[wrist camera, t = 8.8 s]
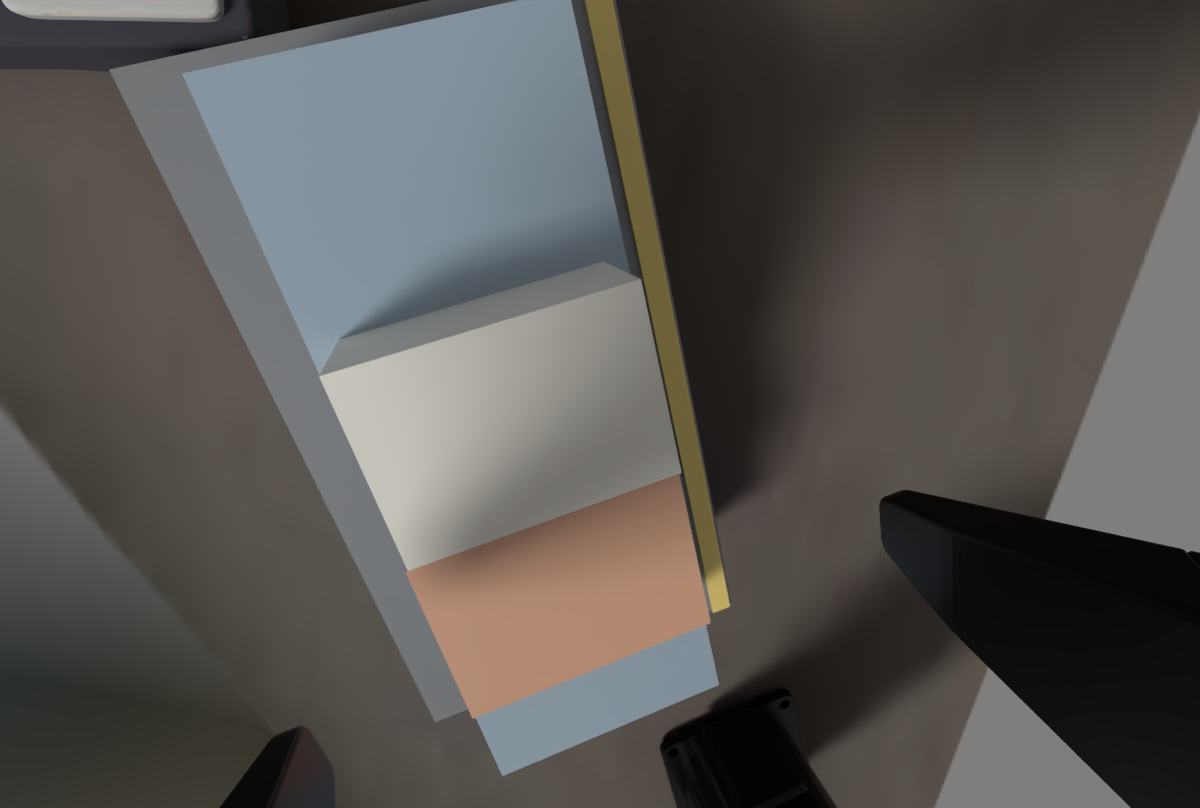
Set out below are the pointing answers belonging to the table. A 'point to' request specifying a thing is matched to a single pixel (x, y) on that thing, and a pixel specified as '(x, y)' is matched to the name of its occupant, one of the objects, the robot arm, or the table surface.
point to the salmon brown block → (564, 595)
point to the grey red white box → (126, 30)
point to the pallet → (439, 232)
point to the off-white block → (505, 410)
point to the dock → (283, 353)
